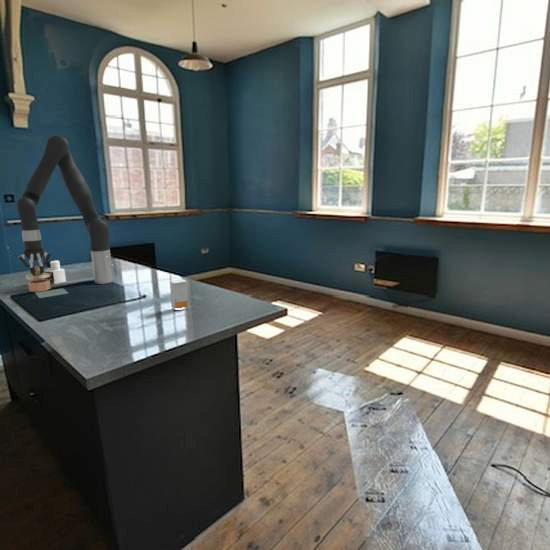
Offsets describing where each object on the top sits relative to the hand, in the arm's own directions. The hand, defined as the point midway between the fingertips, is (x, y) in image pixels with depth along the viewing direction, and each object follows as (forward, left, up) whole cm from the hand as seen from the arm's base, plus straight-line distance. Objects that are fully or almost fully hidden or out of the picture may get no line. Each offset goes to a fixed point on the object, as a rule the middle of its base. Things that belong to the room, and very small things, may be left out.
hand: (37, 274), depth 186 cm
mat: (-3, +12, -8) cm, 15 cm away
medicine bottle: (-9, -11, -8) cm, 17 cm away
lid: (0, 0, -2) cm, 2 cm away
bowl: (0, 0, -8) cm, 8 cm away
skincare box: (-39, +75, -8) cm, 84 cm away
